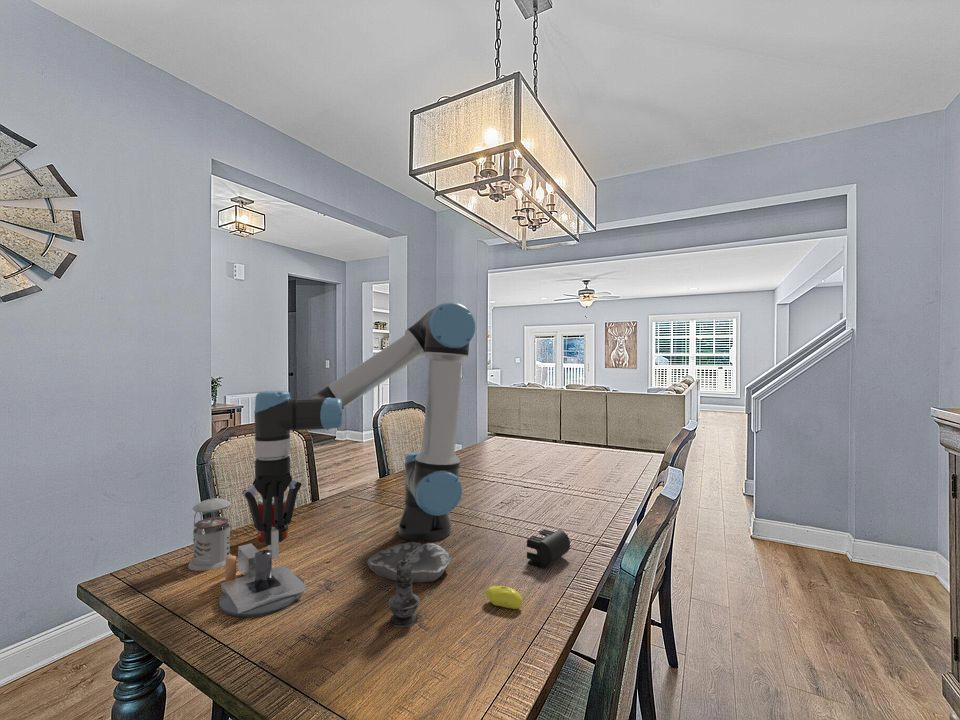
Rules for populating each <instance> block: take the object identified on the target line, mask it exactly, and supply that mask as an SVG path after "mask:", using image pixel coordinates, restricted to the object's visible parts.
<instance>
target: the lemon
mask: <svg viewBox="0 0 960 720" xmlns="http://www.w3.org/2000/svg"><path fill="white" fill-rule="evenodd" d="M484 592H485V593H484V594H485V597H486V598H487V599H489V601H490V602H491V603H492V605H494V606H497V607H498V606H499V607H502V608H507V609H512V610H517V609H519V608H521V607H522V605H523V601H524V600H523V596H521V594H520V593H519V592H518V591H517V589H514V588H512V587H508V586H506V585H494V586H493V585H492V586H489V587H487V589H486V590H485V591H484Z"/></svg>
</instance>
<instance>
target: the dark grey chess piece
mask: <svg viewBox="0 0 960 720" xmlns="http://www.w3.org/2000/svg"><path fill="white" fill-rule="evenodd" d="M413 583H415V582H414V579H413V578H412V564H411V563H410V562H409V561H406V558H405V557H404V558H403V561H401V562H399V563H398V565H397V579H396V580H395V581H394V584H395V585H396V587H395V588H396V589H395V594H394V595H393V596H391V597H390V598H389V599H388V605H389V607H390V609H389V610H390V611H391V612H392V615H391V617H390V619H389V622H390V624H391V625H392V626H393V627H396V628H408V627H411V626H413V625H415V624H416V623H417V622H418V619H419V617H418V614H417V613H415V612H417V609H418V606H419V603H420V602H421V601H420V597H419V596H418V595H417V594H415V593H414V592H413Z"/></svg>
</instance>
